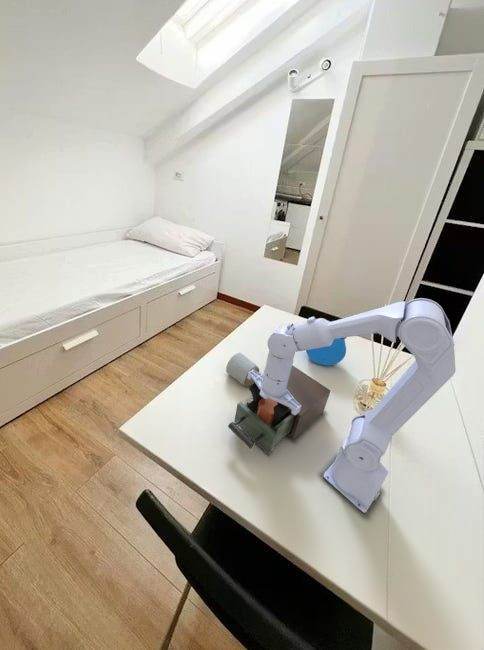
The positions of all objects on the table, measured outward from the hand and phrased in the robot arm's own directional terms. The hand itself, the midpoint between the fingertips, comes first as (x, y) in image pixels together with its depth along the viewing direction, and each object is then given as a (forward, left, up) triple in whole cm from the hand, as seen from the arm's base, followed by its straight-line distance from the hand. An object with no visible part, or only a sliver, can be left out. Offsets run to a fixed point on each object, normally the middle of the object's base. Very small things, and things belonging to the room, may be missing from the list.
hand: (266, 416), depth 73 cm
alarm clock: (+7, -41, -5) cm, 41 cm away
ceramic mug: (+17, -11, -5) cm, 21 cm away
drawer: (0, +1, -4) cm, 4 cm away
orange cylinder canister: (0, 0, -1) cm, 1 cm away
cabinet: (0, -12, -5) cm, 13 cm away
